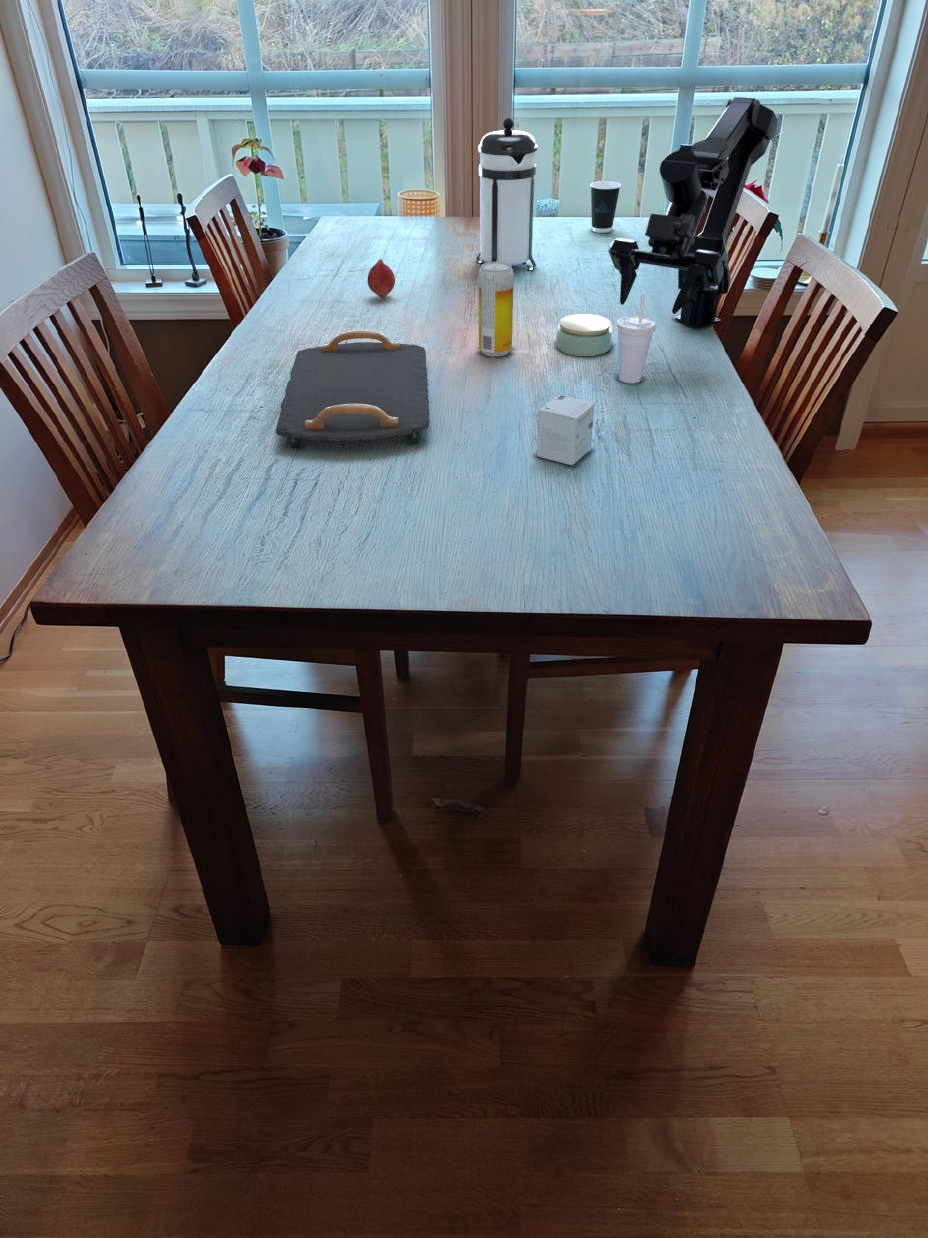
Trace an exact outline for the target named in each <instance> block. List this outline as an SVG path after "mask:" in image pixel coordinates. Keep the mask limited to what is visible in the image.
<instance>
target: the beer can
mask: <svg viewBox="0 0 928 1238" xmlns="http://www.w3.org/2000/svg"><path fill="white" fill-rule="evenodd" d="M514 273H515V272H514V270H513V268H512V265H510V264H508V263H504V262H489V263H487V262H485V263H482V264H481V265H480V269H479V271H478V349H479V350H480V351H481V353H482V354H483V355H485V356H488V357H502V356H505V355H508V354H509V353H510V351H511V350H512V349H513V323H514V322H513V321H514V319H513V318H514V317H513V315H514V276H515V274H514Z"/></svg>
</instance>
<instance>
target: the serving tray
mask: <svg viewBox="0 0 928 1238" xmlns="http://www.w3.org/2000/svg"><path fill="white" fill-rule="evenodd" d="M359 339H360V340H361V339H365V340H366V339H369V340H375V341H379V342H373V341H371V342H370V341H365V342H362V341H361V342H359V341H358V342H347V343H342V342H345V341H349V340H359ZM426 351H427V350H426V349H425V347H424V346H420V345H417V344H407V343H400V341H397V342H396V341H393V340H391V339H390V338H389V337H388V336H386V335H385V334H384V333H382V332H380V331H376V330H368V329H365V330H364V329H356V330H348V331H343V332H340V333H338V334H337V335H335V336H334V337H333V339H331V340H330V342H328V343H327V344H321V346H315V347H307V348H305V349H302V350H298V351H297V353H296V354H295V358H294V362H293V365H292V368H291V370H290V373H289V374H290V378H289V380H288V381H287V384H286V386H285V390H284V391H285V393H284V398H282V401H281V402H280V412H279V416H278V421H277V424H276V427H275V432H276V435H277V436H282V437H285V443H286V445H287V446H288V447H289V449H297V448H299V446H300V443H301V440H304V441H305V440H306V441H315V442H317V441H318V442H339V443H340V442H364V441H373V440H381V439H388V438H389V439H390V438H395V437H402V436H406V438H407V441H409V444H412V445H416V444H419V443H420V440H421V439H422V433H421V432H423V431H426V430H428V429H429V427H430V409H429V408H430V406H429V404H430V401H429V388H428V387H429V383H428V381H429V379H428V368H427V352H426Z"/></svg>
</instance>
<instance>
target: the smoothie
mask: <svg viewBox="0 0 928 1238" xmlns="http://www.w3.org/2000/svg"><path fill="white" fill-rule="evenodd" d="M645 295H646V294H645ZM645 295H644V294H642V295H641V297H640V303H639V304H640V305H639V311H638V312H639V313H638V315H630V316H624V317H621V318H619V319H618V320H617V321H616V326H615V328H616V330H617V343H618V344H617V345H618V347H617V348H618V350H617V351H618V380H619V381H620V382H622V383H624V384H637V383H639V382H641V381H642V380H641V379H642V377H643V372H644V369H645V365H646V360H647V357H648V353H649V349H650V345H651V343H652V337H653V333H654V332H655V331H656V326H657V322H656V321H655V320H654V319H651V318H649V317H645V316H643V315H644V314H643V313H644V305H645V299H646V296H645Z"/></svg>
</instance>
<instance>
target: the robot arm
mask: <svg viewBox="0 0 928 1238" xmlns="http://www.w3.org/2000/svg"><path fill="white" fill-rule="evenodd" d="M777 128H778V117H777V116H776V114H775V112H774V110H772V109H771V108H769V107H767V106H765V105H764V104H762V103H761V102H760V100H759V99H756V98H755V97H739V96H733V98H731V97H730V98H729V99H728V101H727V103H726V106H725V110H724V112H723V113H722V114H721V115H720V117H719V118H718V120H717V122H716V123H715V125H714V126H713V127H712V128H711V130H710V132H709V133H708V135H707V136H706V138H704V139H703V140H700V141H697V142H694V143H692V144H683V143H682V144H680V147H679V148H678V149H677V150H675V151H673V152H671V153H669V154H668V155H667V156H666V157H665V158H664V159H663V160H662V161H661V163H660V164H659V165H660V166H659V175H660V179H661V183H662V186H663V190H664V195H665V198H666V200H667V201H668V202H669V205H668V207H667V210H666V213H665V214H659V213H650V214H649V217H648V220H647V225H646V229H645V233H644V236H645V237H648V238H649V239H648V241H647V243H648V247H650V248H652V249H651V251H649V250H642V249H640V248H639V246H638V245H639V244H638V242H637V240H635V239H628V238H621V237H617V238H615V239H613V241H612V242H610V243H611V244H610V246H609V248H608V254H609V257H610V259H611V262H612V265H613V267H614V269H616V270H617V271H618V272H619V274H620V292H619V303H620V305H621V306H624V305H625V303H626V301H627V300H628V297H629V295H630V292H631V291H632V288H633V285H634V283H635V282H636V279H637V276H638V274H637V272H636V271H637V270H638V269H639V267H640V265H641V264H644V265H645V264H646V265H651V266H657V267H663V268H669V269H675V270H677V271H678V273H677V283H678V284H677V289H678V290H679V292H678V294H677V296H676V298H675V300H674V303H673V307H672V308H671V312H672V314H673V315H676V314H677V313H678V312H679V311H680V315H677V316H675V318H674V320H676V321H678V322H679V323H683V324H684V325H688V326H690V327H693V328H695V329H701V328H705V327H709V326H712V325H716V324H720V323H721V322H722V319H721V318H719V317H716V315H717V310H718V306H719V305H718V304H719V299H720V296H722V295H725V294H728V293H729V289H730V285H731V271H730V266H729V254H728V250H727V244H726V242H727V238H728V235H729V232H730V229H731V226H732V224H733V221H734V217H735V215H736V212H737V209H738V206H739V203H740V201H741V197H742V194H743V191H744V188H745V187H746V183H747V180H748V177H749V174H750V172H751V169H752V166H753V165H754V164H755V163H756V162H757V161H759V160H760V158H762V157H763V156H764V155H765V154H766V153H767V149H768V147H769V144H770V142H771V141H773V140H774V138H775V135H776V132H777ZM706 190H707V191H715V194H714V197H713V200H712V203H711V205H710V208H709V211H708V214H707V217H706V220H705V223H704V226H703V228H702V231H701V232H700V233H699V234H698V235H695V234H696V233H697V230H698V227H699V225H700V222H701V220H702V217H703V215H705V214H706V213H707V212H706V210H707V205H708V202H709V201H708V195H707V193H706V192H705V191H706Z"/></svg>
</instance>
